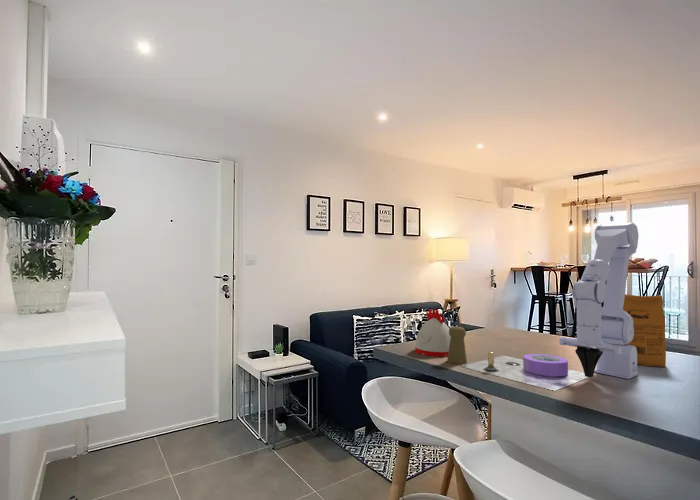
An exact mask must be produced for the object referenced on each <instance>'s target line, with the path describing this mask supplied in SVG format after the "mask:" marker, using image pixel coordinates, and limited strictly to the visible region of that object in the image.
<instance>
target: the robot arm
mask: <svg viewBox="0 0 700 500" xmlns="http://www.w3.org/2000/svg"><path fill="white" fill-rule="evenodd" d="M594 239H595V242H596V245H597V246H596V249H595V253H594V257H593V259H591V260H589V261H588V262H587V264H586V266H585V268H584V271H583V273H582V276H581V278H580V280H578V281H576V282H575V283H574V284H573V285H572V286H573V287H572V297H573V301H574V307H575V308H576V338H574V337H572V338H571V337H564V336H561V337H559V346H568V347H574V348H576V349H575V350H574V351H575V355H577V357H578V359H579V362H580V363H581V366H582V370H583V373H584V374H585V376H586V377H589V378H593V377H594V376H595V373H598V374H602V375H603V374H604V375H607V376H612V377H617V378H621V379H628V380H630V379H631V378H634V377H636V376H638V375H639V373H638V364H637V349H636V347H635V346H632V345H628V343H630V342H631V341H632V339H633V336H634V327H633V318H632V317H631V316H630V315H629V314H628V313H626V312H625V311H624V310H623V305H624V297H625V294H626V288H627V287H626V286H627V278H628V270H629V262H630V258H631V256H632V255H634V254H636V253H637V249H638V245H639V230H638V226H637V225H636V223H635V222H629V223H614V224H609V223H608V224H598V225H597V226H596V227H595V229H594ZM602 303H603V305H602Z"/></svg>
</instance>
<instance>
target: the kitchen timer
mask: <svg viewBox="0 0 700 500" xmlns="http://www.w3.org/2000/svg"><path fill="white" fill-rule="evenodd" d="M425 315H426V317H427V321H425V322H424V324H423V325H422V326H421V327H420V329H419V331H418V332H417V336H416V339H415V340H416V341H415V345H414V347H415V349H414V351H415V353H416V354H418V355H422V356H427V357H428V356H429V357H436V358H442V357H445V358H446V357H447V358H448V352H449V345H450V338H451V337H450V335H449V329H450V327H449V326H448V325H447V324H446V323H445V319H446V317H444V316H443V317H442V313H441V312H440V313H439V309H435V308H432V309H430V308H429V309H428V311H426V312H425Z"/></svg>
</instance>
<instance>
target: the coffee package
mask: <svg viewBox="0 0 700 500" xmlns="http://www.w3.org/2000/svg"><path fill="white" fill-rule="evenodd" d="M663 307H664V298H663V296H662V295H646V296H645V295H643V296H642V295H633V294H626V293H625V297H624V305H623V310H624V311H625V312H626V313H628V314H629V315H630V316H631V317H632V318H633V327H634V336H633V339H632V341H631V342H630V343H628V345H632V346H635V347H636V349H637V365H641V366H646V367H658V368H659V367H663V368H664V367H665V366H666V363H667V362H666V361H667V351H666V349H667V348H666V320H665V310H664V308H663Z"/></svg>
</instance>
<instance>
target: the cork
mask: <svg viewBox="0 0 700 500" xmlns="http://www.w3.org/2000/svg"><path fill="white" fill-rule="evenodd" d="M449 335H450V337H451V338H450V345H449V352H448V357H447V359H446V360H447V363H450V364H452V365H466V364H468V360H467V359H468V358H467V353H466V345H465V344H466V343H465V337H466V335H467V332H466V329H465V327H462V326H451V327H449Z"/></svg>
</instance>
